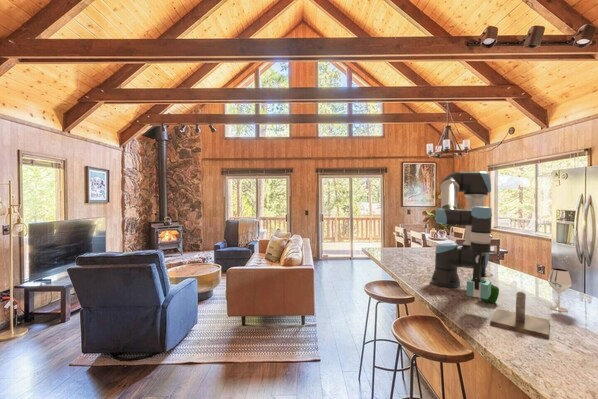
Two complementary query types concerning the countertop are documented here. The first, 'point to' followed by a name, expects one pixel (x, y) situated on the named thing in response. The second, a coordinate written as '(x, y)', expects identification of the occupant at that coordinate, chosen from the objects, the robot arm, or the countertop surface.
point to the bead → (484, 288)
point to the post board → (521, 326)
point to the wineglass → (559, 284)
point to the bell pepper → (492, 295)
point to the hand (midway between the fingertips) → (478, 294)
